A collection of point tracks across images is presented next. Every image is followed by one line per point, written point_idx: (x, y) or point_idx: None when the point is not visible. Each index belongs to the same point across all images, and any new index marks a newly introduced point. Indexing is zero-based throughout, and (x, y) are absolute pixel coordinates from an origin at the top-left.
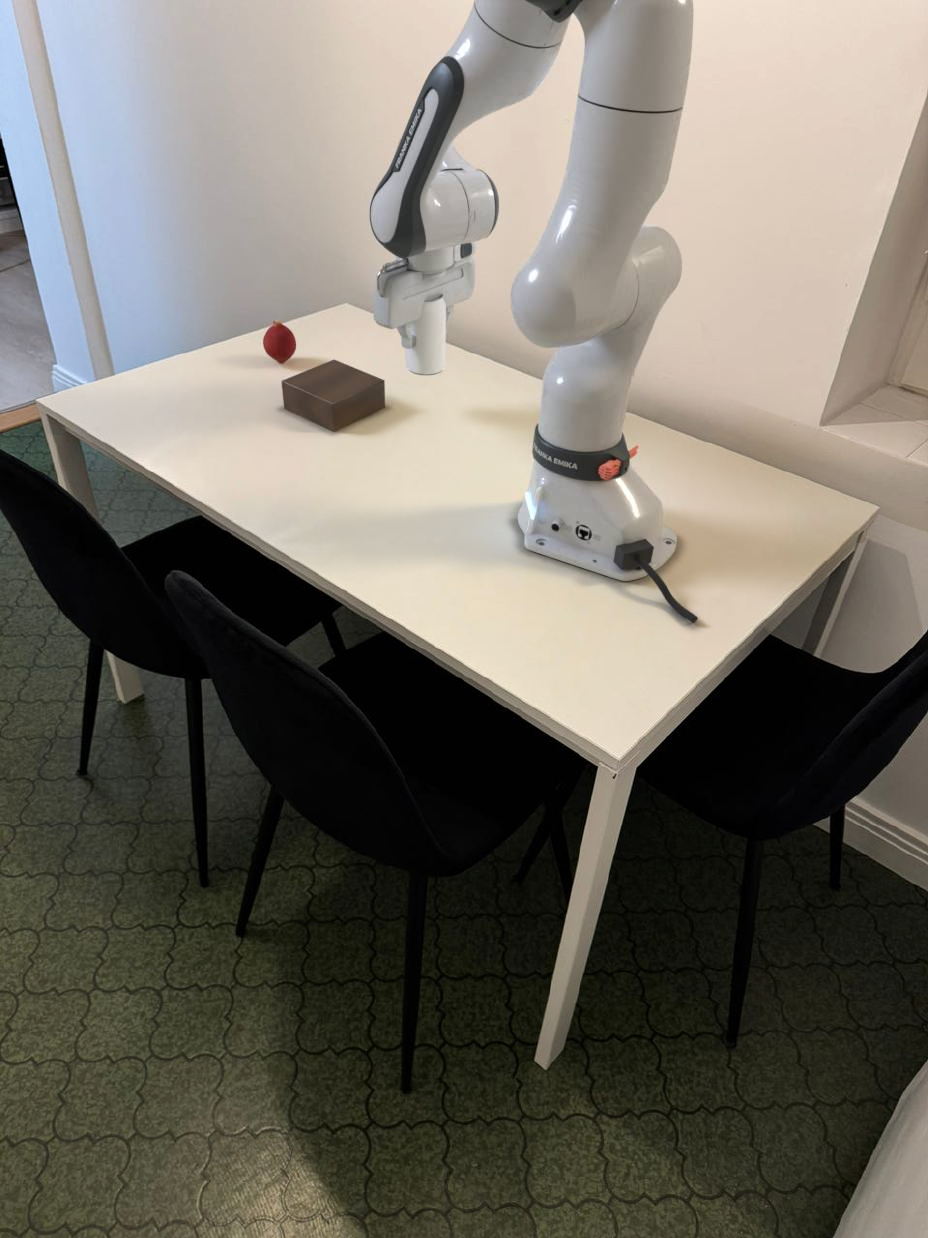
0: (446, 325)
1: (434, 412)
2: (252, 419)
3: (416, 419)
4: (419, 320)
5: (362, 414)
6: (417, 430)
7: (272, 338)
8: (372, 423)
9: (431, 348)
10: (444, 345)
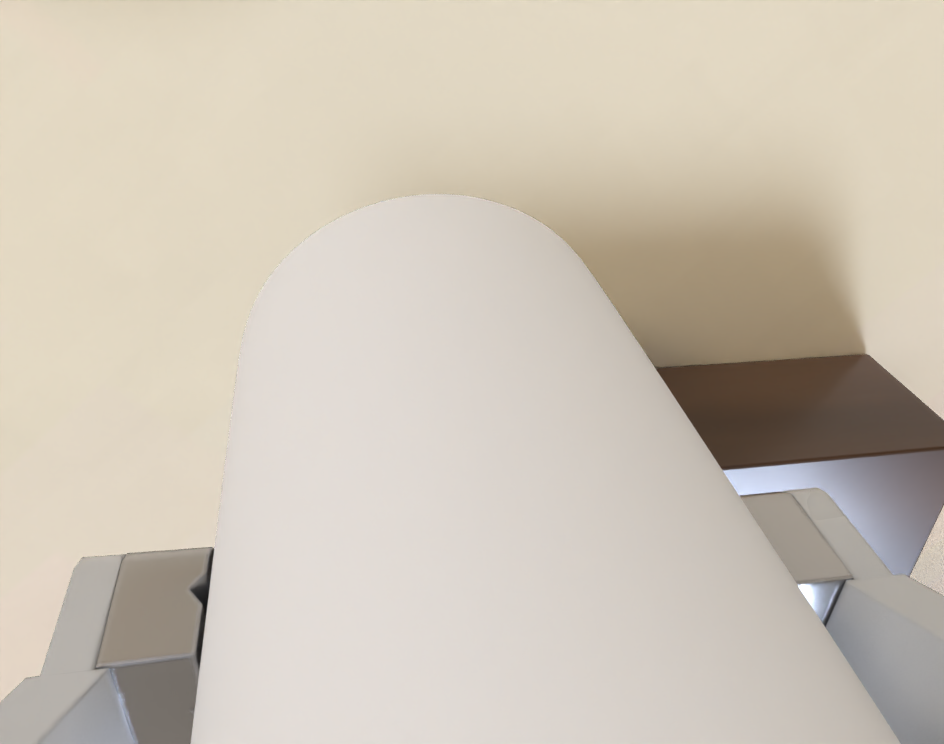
0: (98, 635)
1: (360, 146)
2: None
3: (514, 163)
4: None
5: (693, 377)
6: (630, 55)
7: None
8: (699, 299)
9: (622, 360)
10: (381, 338)
